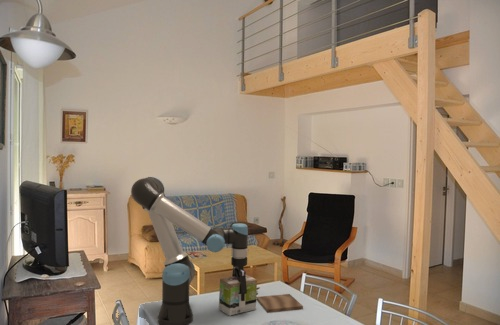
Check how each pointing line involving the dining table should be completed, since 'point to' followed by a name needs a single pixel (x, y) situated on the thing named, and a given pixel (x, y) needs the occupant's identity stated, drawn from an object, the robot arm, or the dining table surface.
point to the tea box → (236, 295)
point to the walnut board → (279, 303)
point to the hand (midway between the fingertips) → (238, 302)
